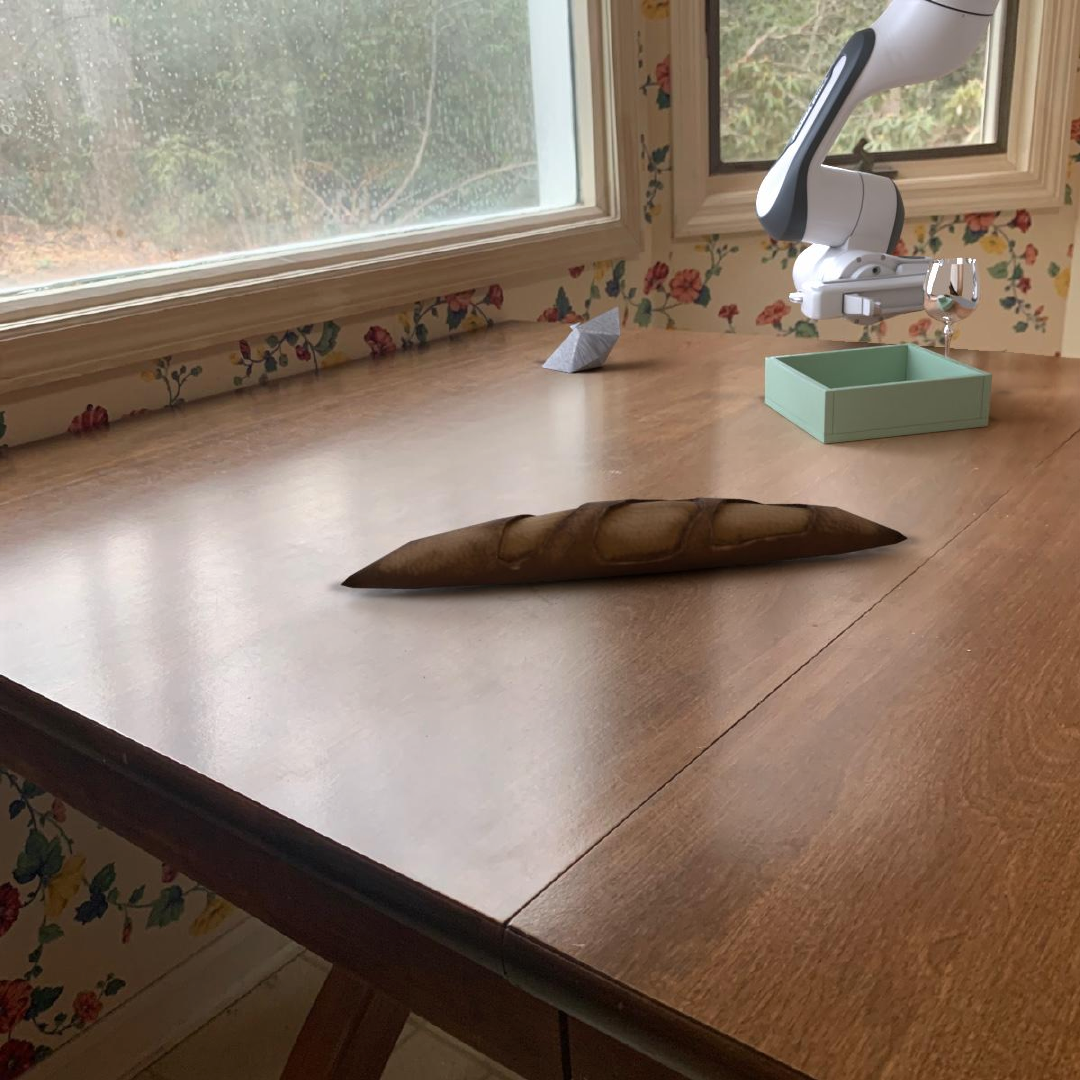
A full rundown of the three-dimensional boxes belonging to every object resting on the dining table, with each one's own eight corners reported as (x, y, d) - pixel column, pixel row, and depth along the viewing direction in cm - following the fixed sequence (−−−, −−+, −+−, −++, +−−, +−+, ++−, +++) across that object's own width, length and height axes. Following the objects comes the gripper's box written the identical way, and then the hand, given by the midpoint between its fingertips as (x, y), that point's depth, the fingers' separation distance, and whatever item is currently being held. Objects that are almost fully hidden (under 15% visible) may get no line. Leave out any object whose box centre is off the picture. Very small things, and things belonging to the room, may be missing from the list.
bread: (337, 611, 70) (327, 538, 68) (346, 580, 75) (336, 512, 73) (921, 562, 71) (925, 490, 69) (893, 536, 76) (897, 467, 74)
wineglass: (978, 370, 119) (987, 257, 114) (968, 382, 114) (977, 265, 110) (924, 367, 122) (930, 257, 117) (911, 379, 117) (918, 264, 113)
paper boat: (544, 369, 128) (519, 337, 135) (570, 405, 132) (544, 372, 139) (627, 307, 127) (596, 277, 134) (650, 345, 131) (620, 315, 138)
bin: (909, 388, 113) (911, 342, 111) (988, 426, 99) (992, 374, 97) (764, 403, 111) (765, 357, 110) (823, 444, 97) (825, 391, 95)
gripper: (784, 269, 134) (828, 284, 121) (941, 255, 136) (1001, 267, 123) (783, 321, 136) (826, 340, 123) (938, 306, 138) (997, 323, 125)
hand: (915, 304), depth 123 cm, fingers open, 8 cm apart
